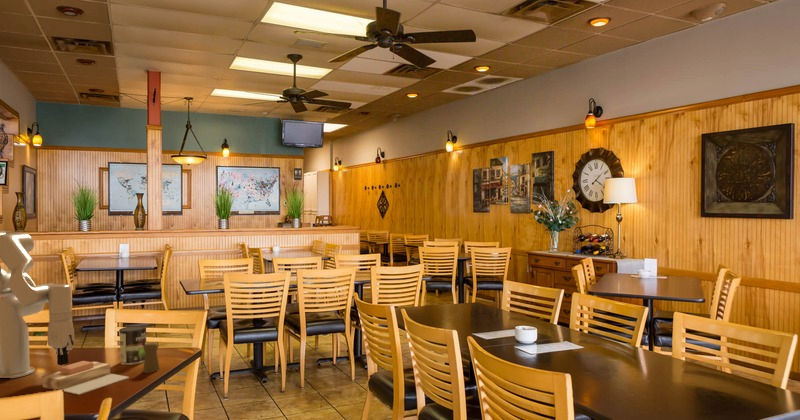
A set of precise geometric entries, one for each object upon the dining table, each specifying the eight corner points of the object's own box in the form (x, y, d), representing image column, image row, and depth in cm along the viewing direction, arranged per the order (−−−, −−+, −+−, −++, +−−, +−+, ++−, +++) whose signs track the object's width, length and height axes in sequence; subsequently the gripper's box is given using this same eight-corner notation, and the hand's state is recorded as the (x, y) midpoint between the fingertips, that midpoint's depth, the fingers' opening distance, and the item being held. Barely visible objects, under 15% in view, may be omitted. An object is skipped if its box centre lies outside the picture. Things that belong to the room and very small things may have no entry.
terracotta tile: (60, 372, 208) (60, 367, 208) (83, 365, 216) (83, 360, 216) (70, 374, 205) (70, 369, 205) (93, 367, 213) (93, 362, 213)
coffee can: (152, 358, 239) (151, 325, 238) (136, 365, 229) (135, 331, 228) (131, 357, 241) (130, 325, 241) (114, 364, 231) (113, 330, 230)
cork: (162, 368, 224) (161, 340, 224) (156, 372, 218) (155, 344, 218) (147, 368, 224) (146, 341, 224) (140, 373, 218) (139, 345, 218)
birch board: (42, 387, 204) (42, 376, 204) (93, 371, 222) (93, 361, 222) (59, 390, 199) (59, 379, 199) (110, 374, 217) (110, 364, 217)
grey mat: (59, 390, 199) (59, 389, 199) (110, 374, 217) (110, 373, 217) (79, 395, 195) (79, 393, 195) (129, 378, 212) (129, 377, 212)
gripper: (39, 317, 214) (41, 364, 214) (63, 320, 207) (65, 369, 208) (58, 313, 221) (60, 359, 221) (82, 316, 214) (84, 363, 214)
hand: (62, 364), depth 214 cm, fingers closed
